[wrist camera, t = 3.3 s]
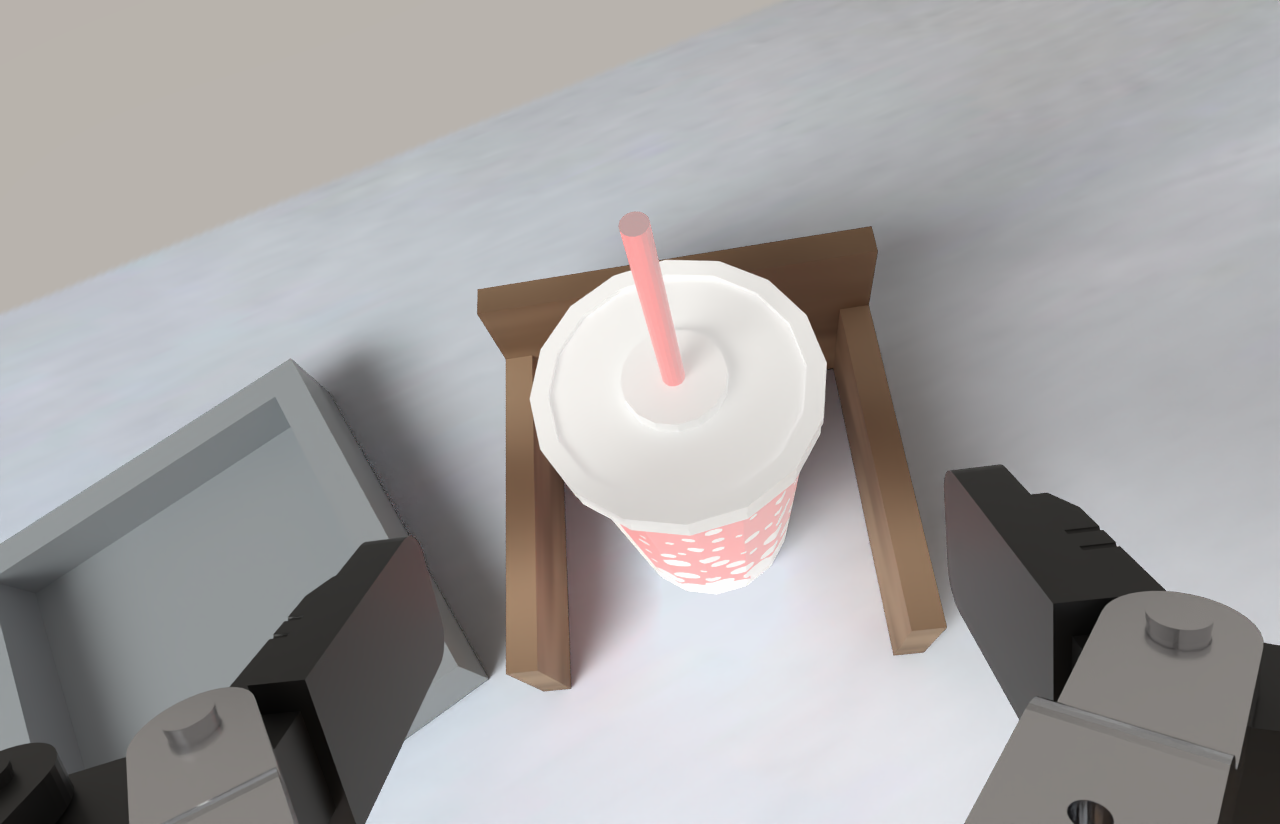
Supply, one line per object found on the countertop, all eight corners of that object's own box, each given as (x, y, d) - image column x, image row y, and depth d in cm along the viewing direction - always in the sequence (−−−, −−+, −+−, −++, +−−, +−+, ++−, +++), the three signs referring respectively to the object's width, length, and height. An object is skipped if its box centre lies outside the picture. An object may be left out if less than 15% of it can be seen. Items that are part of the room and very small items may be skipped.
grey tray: (21, 593, 27) (-47, 573, 25) (329, 392, 29) (290, 358, 26) (117, 947, 22) (42, 964, 20) (488, 678, 23) (457, 665, 21)
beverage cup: (855, 504, 24) (934, 180, 11) (724, 666, 22) (650, 498, 10) (698, 392, 26) (622, 25, 14) (571, 532, 25) (359, 263, 12)
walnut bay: (537, 389, 27) (477, 289, 22) (853, 343, 26) (871, 226, 21) (543, 691, 23) (471, 657, 18) (923, 652, 22) (968, 603, 16)
